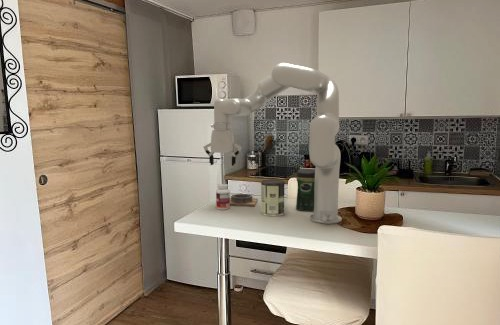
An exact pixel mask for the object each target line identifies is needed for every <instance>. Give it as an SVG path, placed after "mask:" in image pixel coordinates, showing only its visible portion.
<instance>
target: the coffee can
mask: <svg viewBox="0 0 500 325" xmlns="http://www.w3.org/2000/svg"><path fill="white" fill-rule="evenodd" d="M285 184H286V181H284V180H280V179H263V180H260V188H261V189H260V190H261V191H260V193H261V194H260V195H261V196H260V199H261V200H260V206H261V207H260V209H261V210H260V214H261V215H263V216H267V217H280V216H283V215H285Z"/></svg>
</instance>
